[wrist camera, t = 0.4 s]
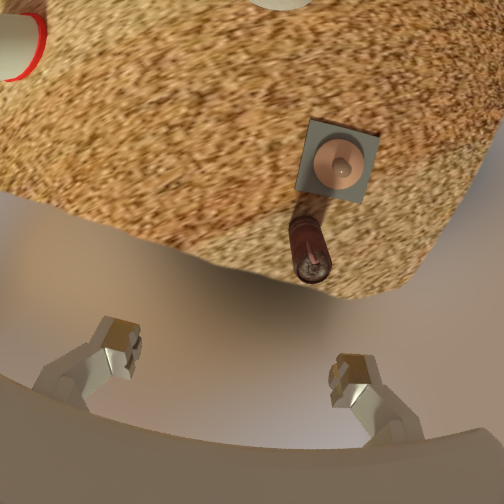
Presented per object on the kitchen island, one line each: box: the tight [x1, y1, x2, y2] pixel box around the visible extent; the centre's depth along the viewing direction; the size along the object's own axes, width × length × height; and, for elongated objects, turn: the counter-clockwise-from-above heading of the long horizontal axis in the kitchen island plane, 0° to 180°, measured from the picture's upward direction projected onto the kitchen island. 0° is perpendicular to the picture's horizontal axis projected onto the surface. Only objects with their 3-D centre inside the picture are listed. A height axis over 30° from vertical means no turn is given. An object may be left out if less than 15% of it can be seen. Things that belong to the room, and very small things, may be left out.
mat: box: [295, 120, 380, 204], centre depth 51 cm, size 13×13×1 cm
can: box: [288, 216, 332, 284], centre depth 52 cm, size 6×6×14 cm
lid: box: [313, 139, 364, 189], centre depth 49 cm, size 9×9×4 cm
